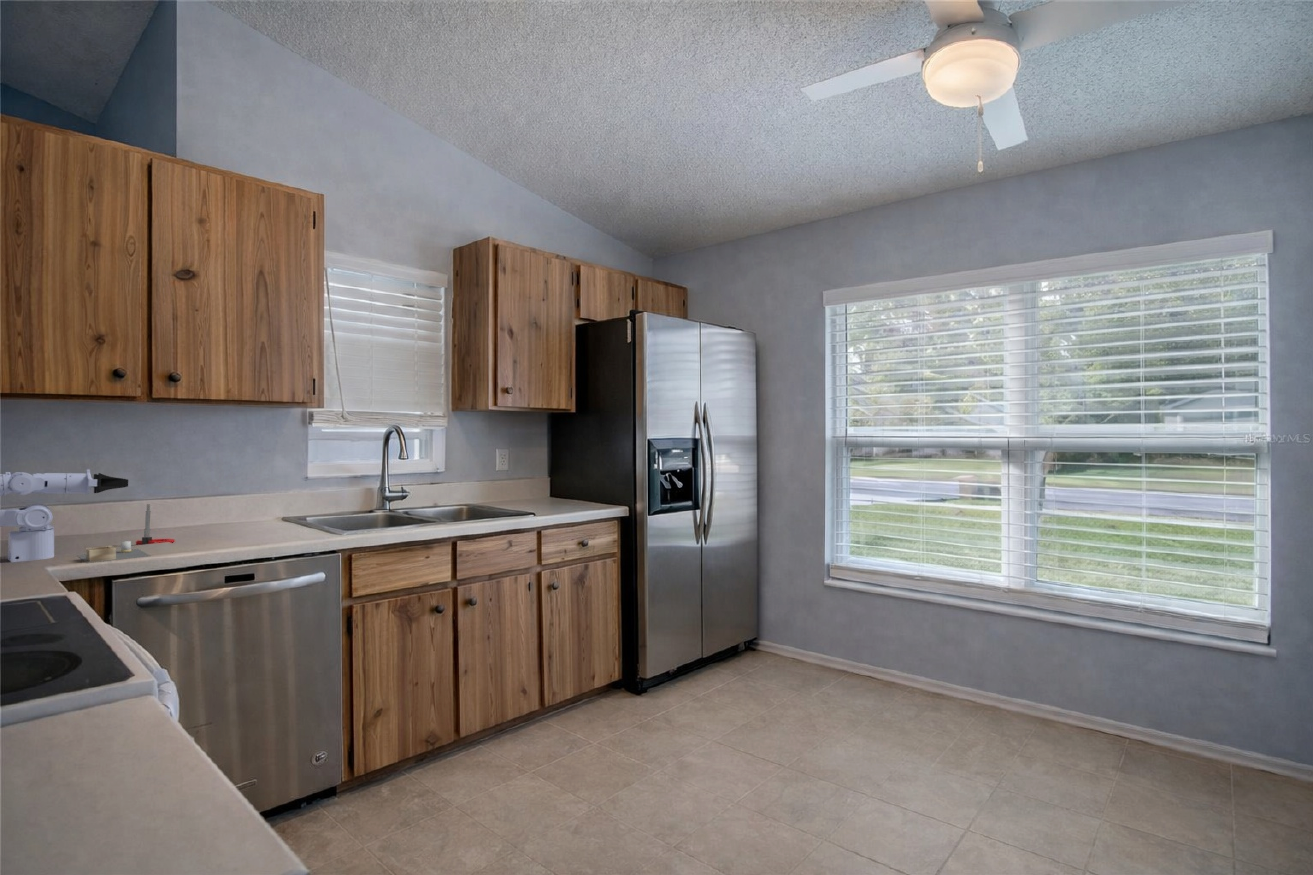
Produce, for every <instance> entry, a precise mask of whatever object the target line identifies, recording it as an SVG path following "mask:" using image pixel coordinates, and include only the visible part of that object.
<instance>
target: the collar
mask: <svg viewBox="0 0 1313 875" xmlns="http://www.w3.org/2000/svg"><path fill="white" fill-rule="evenodd" d="M116 551H117V548H116V547H115V546H113V545H108V546H107V545H106V546H94V547H85V554H86V560H88V561H89V562H94V563H96V562H95V561H102V562H104V561H103V560H111V561H113V560H112V559H116Z"/></svg>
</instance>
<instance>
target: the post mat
mask: <svg viewBox="0 0 1313 875" xmlns="http://www.w3.org/2000/svg"><path fill="white" fill-rule="evenodd" d="M120 545H121V546H120V548H121V549H120V550H116V559H112V560H103V561H95V562H89V561H88V560H86V553H85V554H77V555H76V556H77V557H78V558H79V559H80V560H82V561H84V562H85V563H86V564H90V563H91V564H92V563H100V562H102V563H103V562H109V561H110V562H111V561H119V560H127V559H137V558H147V557H151V556H152V555H150V554H149V553H146V552H145V551H143V550H141V549H139V548H133V549H132V541H130V540H126V541H121V543H120Z"/></svg>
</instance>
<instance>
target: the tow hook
mask: <svg viewBox="0 0 1313 875" xmlns="http://www.w3.org/2000/svg"><path fill="white" fill-rule="evenodd" d="M150 508H151V504H149V503H148V504H146V511H145V520H144V521H145V522H144V529H143V537H141V540H140V539H138V540H136V541H135V545H137V546H143V545H152V544H153V545H154V544H162V543H170V544H172V542H173V543H175V541H176V540H175V539H173V538H155V539H153V536H151V509H150Z"/></svg>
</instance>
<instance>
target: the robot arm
mask: <svg viewBox="0 0 1313 875" xmlns="http://www.w3.org/2000/svg"><path fill="white" fill-rule="evenodd" d="M85 472H86V473H83V472H81V473H80V472H78V473H77V472H75V473H74V472H68V473H67V472H66V473H65V472H64V473H63V472H55V473H54V472H45V473H40V472H38V473H32V474H30V473H28V472H19V471H16V472H14V473H12V474H11V472H10V471H5V473H0V496H7V495H9V494H10V493H13V494H16V495H20V496H26V495H29V494H31V493H32V494H44V495H45V494H49V495H50V494H55V495H57V494H59V495H60V494H61V495H62V494H67V495H69V494H85V495H89V494H90V492H91V490H92V488H93V493H94V494H99V493H101V492H105V491H108V490H109V491H110V490H113V489H114V490H115V489H116V490H117V489H122V488H128V487H129V479H128V478H127V479H126V478H123V477H122V478H121V477H115V476H109V475H106V474H103V473H100V472H98V474H97V473H95V474H93V478H92V475H91V469H88V468H87V469H86V471H85ZM53 519H54V518H53V513H52V511H51V510H50V508H49V506H47V505H45V504H43V503H37V502H36V503H31V504H29V505H26V506H22V507H13V508H1V509H0V527H11V528H18V530H14V531H9V532H8V536H7V538H8V541H7V542H8V544H7V546H8V547H7V550H8V552H7V560H8V561H9V562H10V563H17V562H26V561H27V562H29V561H38V560H40V561H41V560H48V559H52V558H54V557H55V526H54V525H51V523H52V521H53Z"/></svg>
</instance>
